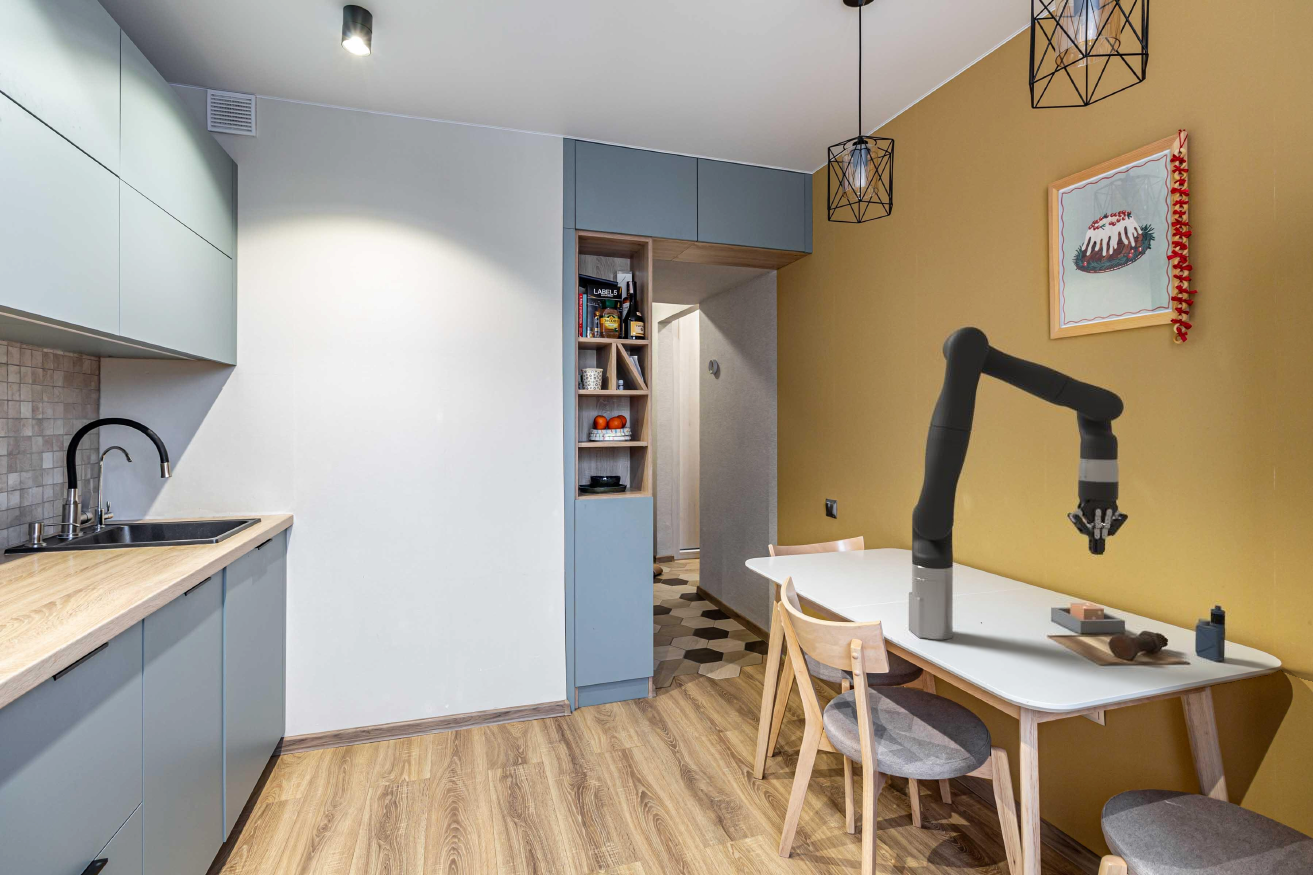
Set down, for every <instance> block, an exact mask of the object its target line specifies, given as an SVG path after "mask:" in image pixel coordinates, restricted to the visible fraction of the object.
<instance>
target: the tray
mask: <svg viewBox="0 0 1313 875" xmlns="http://www.w3.org/2000/svg"><path fill="white" fill-rule="evenodd" d="M1050 622H1052V623H1054V624H1056V625H1059V626H1061V627H1062V628H1064V629H1067V630H1069V631H1071V632H1073V633H1074V634H1076V635H1101V634H1118V633H1119V634H1126V620H1125V619H1122V618H1120V617H1118V616H1115V615H1113V614H1110V613H1108V612H1105V611H1104V620H1081V619H1079V618H1077V617H1074V616H1072V615H1070V606H1069V607H1051V608H1050Z"/></svg>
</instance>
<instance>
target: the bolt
mask: <svg viewBox="0 0 1313 875" xmlns="http://www.w3.org/2000/svg"><path fill="white" fill-rule="evenodd" d="M1168 643H1169V639H1168V638H1167V637H1166V636H1165V635H1163V634H1162V633H1159V632H1152V631H1149V630H1142V631H1141V632H1140V633H1139V634H1138V635H1137V636H1126V635H1123V634H1119V633H1118V634H1115V635H1114V636H1113V637H1112V638H1111V639H1110V641H1109V643H1108V644H1109V648H1110V650H1111V652H1112V653H1113V655H1114V656H1115V657H1117V658H1120V659H1122V660H1126V661H1132V660H1133V659H1134V658H1135V657H1136V656H1137V655H1138V653H1139V652H1143V651H1145V652H1149V653H1153V654H1155V653H1158V652H1159V651H1160V650H1161V651H1162V649H1163V648H1166V647H1167V646H1168V645H1169V644H1168Z"/></svg>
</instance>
